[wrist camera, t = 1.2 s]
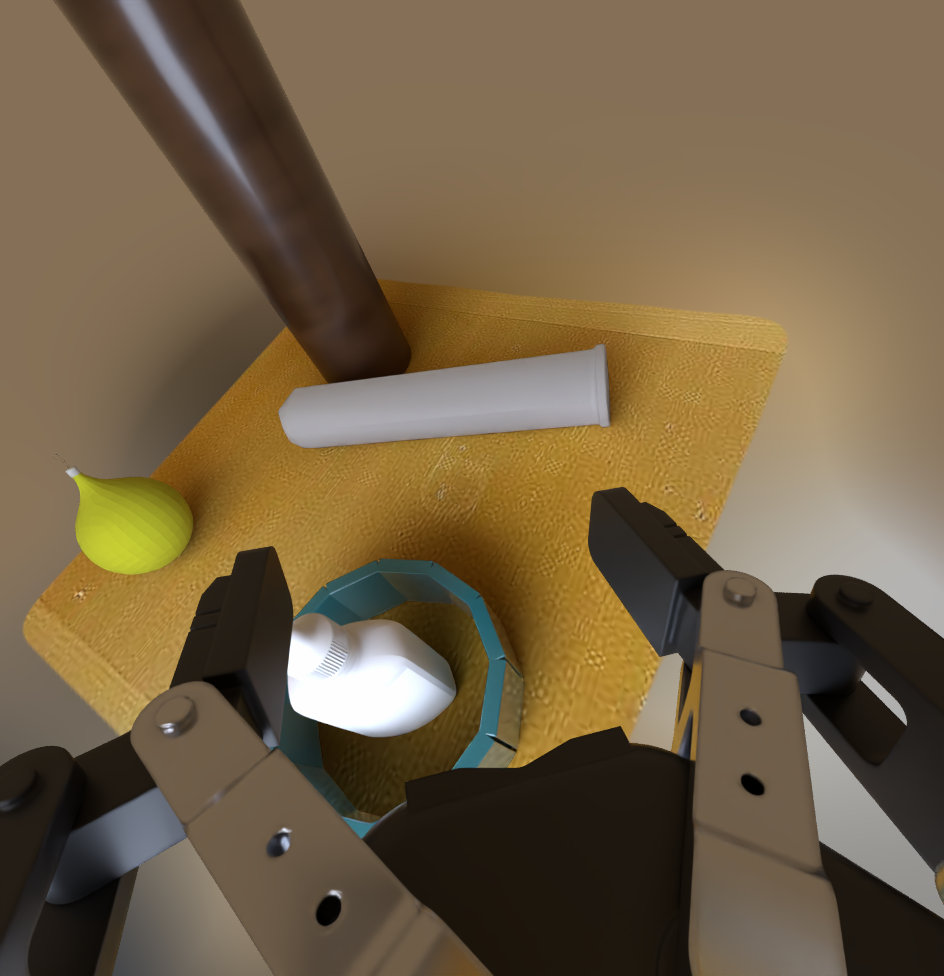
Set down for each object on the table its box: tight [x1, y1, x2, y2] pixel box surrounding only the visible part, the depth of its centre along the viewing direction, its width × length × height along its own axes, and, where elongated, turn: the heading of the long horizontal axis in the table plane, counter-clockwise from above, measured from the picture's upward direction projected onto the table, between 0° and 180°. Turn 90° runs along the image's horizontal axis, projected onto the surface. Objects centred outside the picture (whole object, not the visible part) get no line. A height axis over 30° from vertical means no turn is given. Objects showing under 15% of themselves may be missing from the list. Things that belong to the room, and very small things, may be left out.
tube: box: [278, 344, 610, 448], centre depth 36 cm, size 5×5×25 cm
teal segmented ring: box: [270, 559, 524, 839], centre depth 25 cm, size 13×13×4 cm
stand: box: [53, 0, 411, 384], centre depth 33 cm, size 8×8×30 cm
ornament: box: [66, 466, 193, 574], centre depth 35 cm, size 7×7×10 cm
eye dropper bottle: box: [287, 613, 456, 737], centre depth 22 cm, size 4×6×12 cm
